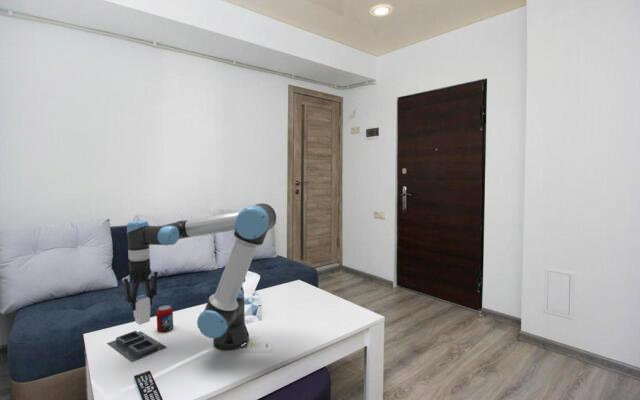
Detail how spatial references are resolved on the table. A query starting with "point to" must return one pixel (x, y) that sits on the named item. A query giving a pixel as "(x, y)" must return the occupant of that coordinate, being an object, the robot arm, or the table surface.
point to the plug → (143, 309)
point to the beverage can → (164, 319)
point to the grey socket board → (136, 345)
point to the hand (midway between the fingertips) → (142, 315)
